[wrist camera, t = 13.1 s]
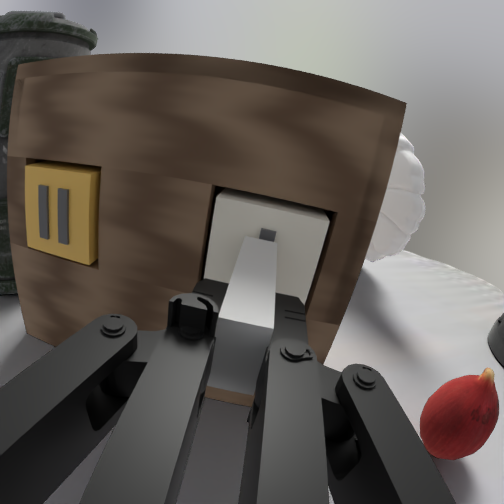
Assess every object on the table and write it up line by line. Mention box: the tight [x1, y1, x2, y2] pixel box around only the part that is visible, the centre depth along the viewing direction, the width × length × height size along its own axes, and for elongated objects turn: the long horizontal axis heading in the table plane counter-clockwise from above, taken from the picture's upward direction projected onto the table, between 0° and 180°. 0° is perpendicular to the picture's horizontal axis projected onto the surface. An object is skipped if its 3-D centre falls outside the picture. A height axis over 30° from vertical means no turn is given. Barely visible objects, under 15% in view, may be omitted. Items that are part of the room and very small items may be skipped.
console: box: [7, 53, 406, 407], centre depth 20 cm, size 22×8×20 cm, turn 85°
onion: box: [420, 368, 499, 460], centre depth 15 cm, size 6×6×8 cm
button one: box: [204, 187, 330, 305], centre depth 17 cm, size 5×5×5 cm
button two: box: [25, 160, 102, 265], centre depth 17 cm, size 5×5×5 cm
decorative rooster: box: [365, 133, 425, 262], centre depth 41 cm, size 25×16×25 cm, turn 9°
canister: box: [0, 11, 98, 294], centre depth 23 cm, size 16×16×28 cm
